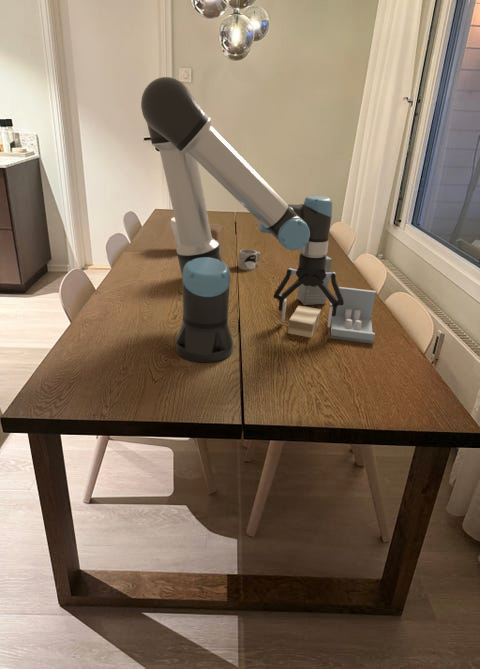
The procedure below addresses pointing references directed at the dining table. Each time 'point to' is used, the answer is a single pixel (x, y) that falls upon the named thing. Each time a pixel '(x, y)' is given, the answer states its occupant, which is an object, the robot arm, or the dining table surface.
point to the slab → (304, 321)
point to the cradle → (354, 316)
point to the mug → (248, 259)
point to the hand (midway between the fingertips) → (305, 323)
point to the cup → (175, 232)
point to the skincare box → (314, 290)
